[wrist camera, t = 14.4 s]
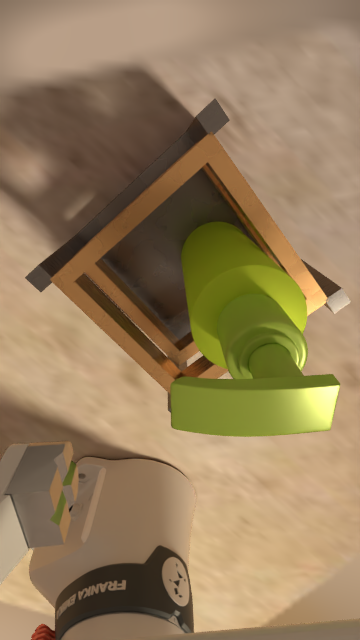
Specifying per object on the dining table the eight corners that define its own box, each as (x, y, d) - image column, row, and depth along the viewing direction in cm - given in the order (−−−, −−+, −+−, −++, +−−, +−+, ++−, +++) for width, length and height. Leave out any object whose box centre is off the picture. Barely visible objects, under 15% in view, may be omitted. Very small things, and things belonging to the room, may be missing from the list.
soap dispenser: (168, 222, 28) (168, 333, 10) (253, 220, 28) (410, 328, 10) (169, 290, 30) (172, 483, 12) (247, 289, 30) (366, 476, 12)
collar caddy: (175, 351, 34) (178, 420, 25) (69, 242, 29) (25, 277, 20) (296, 260, 31) (351, 302, 22) (198, 121, 26) (215, 98, 17)
